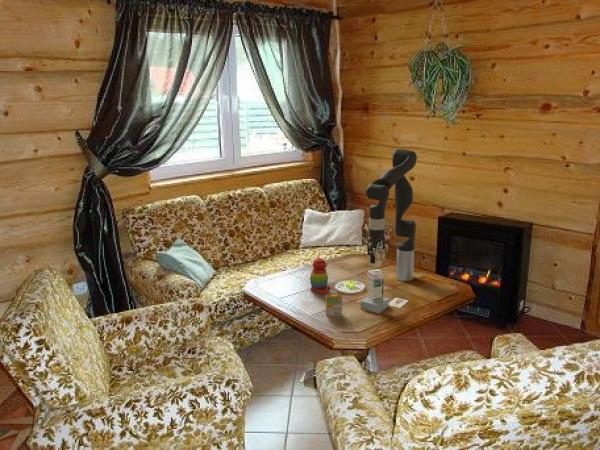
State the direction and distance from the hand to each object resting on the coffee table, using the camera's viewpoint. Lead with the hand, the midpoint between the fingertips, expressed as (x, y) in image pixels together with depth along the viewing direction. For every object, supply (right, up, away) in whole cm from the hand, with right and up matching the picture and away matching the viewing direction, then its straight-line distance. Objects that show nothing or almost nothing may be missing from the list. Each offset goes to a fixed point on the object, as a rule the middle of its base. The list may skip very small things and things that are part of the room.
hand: (375, 261), depth 238 cm
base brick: (0, -23, +6) cm, 24 cm away
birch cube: (0, -1, 0) cm, 1 cm away
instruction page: (+12, -21, +11) cm, 27 cm away
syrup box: (+1, -19, +6) cm, 20 cm away
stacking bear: (-25, -18, +28) cm, 42 cm away
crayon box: (-20, -26, -1) cm, 32 cm away
